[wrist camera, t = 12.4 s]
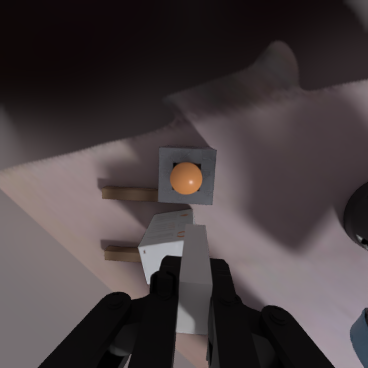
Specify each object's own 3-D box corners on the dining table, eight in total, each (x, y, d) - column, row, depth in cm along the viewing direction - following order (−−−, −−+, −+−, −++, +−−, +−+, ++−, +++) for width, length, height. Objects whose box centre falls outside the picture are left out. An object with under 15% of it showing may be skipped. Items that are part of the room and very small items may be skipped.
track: (207, 191, 40) (208, 194, 38) (202, 260, 44) (203, 266, 42) (106, 186, 41) (101, 188, 39) (108, 254, 44) (104, 259, 42)
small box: (159, 242, 43) (145, 285, 30) (153, 213, 42) (136, 246, 29) (198, 237, 42) (200, 278, 30) (193, 207, 41) (193, 238, 28)
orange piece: (201, 158, 34) (203, 163, 28) (199, 184, 35) (201, 195, 29) (174, 157, 34) (170, 162, 28) (174, 183, 35) (169, 193, 29)
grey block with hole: (210, 147, 38) (216, 150, 29) (207, 189, 40) (212, 205, 30) (167, 145, 39) (159, 147, 29) (166, 186, 40) (158, 202, 31)
